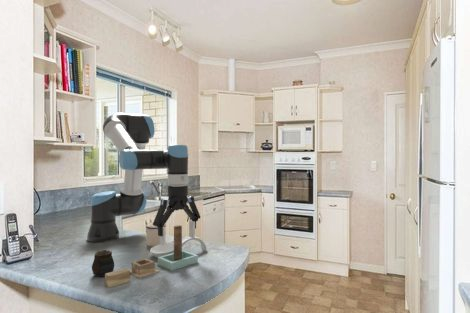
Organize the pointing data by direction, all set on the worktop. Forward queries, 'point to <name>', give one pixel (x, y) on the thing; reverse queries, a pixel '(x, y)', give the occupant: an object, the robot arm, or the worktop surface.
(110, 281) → the block
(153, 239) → the beige lidded jar
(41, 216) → the worktop surface
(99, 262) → the mate gourd
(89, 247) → the worktop surface
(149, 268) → the socket block
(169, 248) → the spoon rest
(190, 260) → the tray
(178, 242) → the dowel
